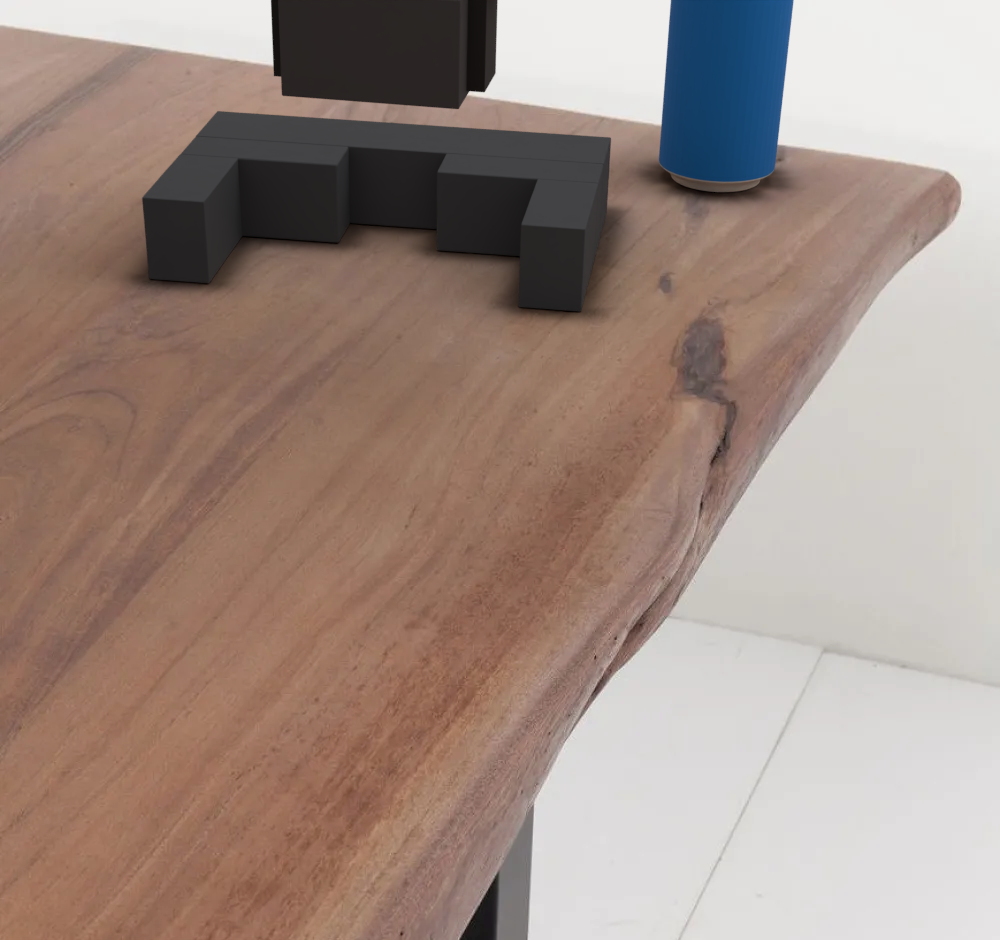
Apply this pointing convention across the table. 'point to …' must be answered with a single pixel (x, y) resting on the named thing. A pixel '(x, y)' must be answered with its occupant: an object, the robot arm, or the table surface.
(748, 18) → the beverage can
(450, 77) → the black block
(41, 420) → the table surface
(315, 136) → the pad base
